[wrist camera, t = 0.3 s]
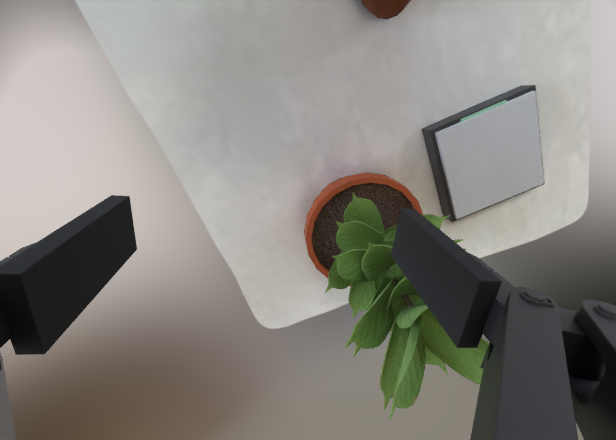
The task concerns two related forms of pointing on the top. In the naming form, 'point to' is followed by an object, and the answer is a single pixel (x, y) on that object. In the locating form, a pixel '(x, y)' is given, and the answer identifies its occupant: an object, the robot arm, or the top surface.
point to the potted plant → (382, 282)
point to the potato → (385, 7)
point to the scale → (486, 153)
